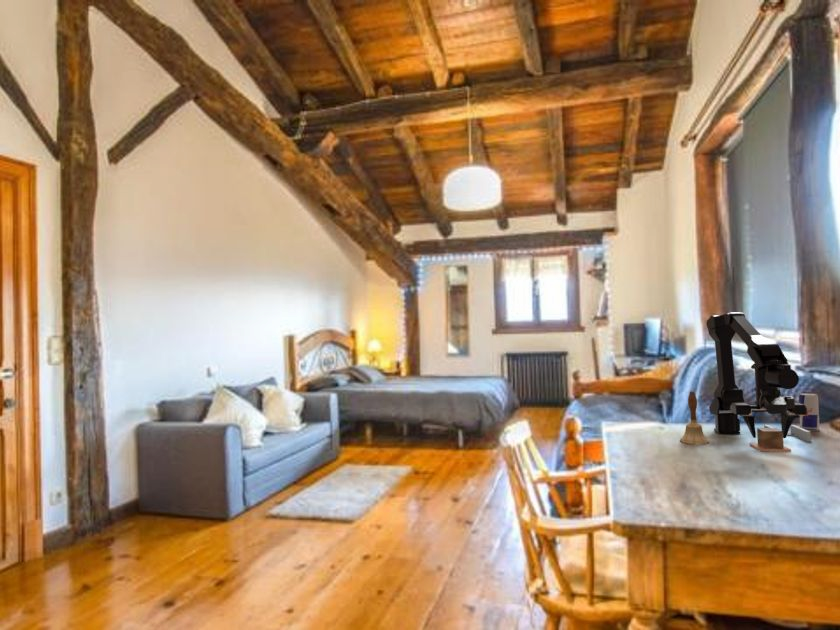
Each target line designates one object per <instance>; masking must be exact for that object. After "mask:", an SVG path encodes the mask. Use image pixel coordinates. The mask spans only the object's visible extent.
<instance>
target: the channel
mask: <svg viewBox="0 0 840 630" xmlns="http://www.w3.org/2000/svg"><path fill="white" fill-rule="evenodd" d="M763 428H775V427H774V426H772V425H769V424H764V427H763ZM789 430H790V433H789V432H788V433H787V436H786V437H790V436H792V437H796V438H798V439H800V440H803V441H805V442H808V443H810V442H812V433H811V432H812V431H808V430H805V429H803V428H801V427H800V426H799V425H795V424H791V426H790V428H789Z"/></svg>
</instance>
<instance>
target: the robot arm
mask: <svg viewBox="0 0 840 630" xmlns="http://www.w3.org/2000/svg"><path fill="white" fill-rule="evenodd" d="M706 327H707V331H708V335H709V336H710V338H711V339H712V340H713V341H714V346H715V358H716V366H717V367H716V369H717V379H718V385H717V386H716V388H715V390H714V393H713V395H714V396H713V397H714V398H713V400H712V401H711V403H710V405H709V407H708V409H709V413H710V414H712V415H714V424H715V425H714V428H713V431H715V432H716V433H718V434H721V435H724V434H725V435H726V434H728V435H729V433H735V434H736V433H737V434H736V435H739V434H738V433H741V420H740V418H739V417H742V419H743V420H744V422H745V424H746V426H747V428H748V430H749V432H750V434H751V437H752V438H754V439H756V438H757V436H756V435H757V431H756V424H755V418H756V416H755V415H753V413H768V414H769V415H775V414H776V415H777V414H778V415H779V414H780V422H781V423H780V424H781V431H783V439H786V438H787V437H788V436H787V433H789V431H790V426H791V425H793V422H794V421H795V420H796V419H798V418H799V419H800V415H808V411H807V407H806V406H805V405H803V404H800V403H799V402H795V398H794V397H793V396H792V395H791V396H790V395H789V396H787V395H786V396H782V395H781V394H782V393H781V389H784V390H791V389H792V390H793V389H794V388H795V387H797V385H799V381H800V378H799V376H798V373H797V372H796V371H795V370H793V369H792V365H791V364H789V362H788V359H787V357H786V356H785V354H784V352H783V350H782V349H781V347H780V345H779V344H778V343H776V342H775V340H773V339H771V338H768V337H766V336H763V335H762V334H761V333H760V332H759V331H758V330H757V329H756V327H754V325H753V324H752V323H751V322H750V321H749V320H748V319H747V318H746V315H745V314H744V312H741V311H739V312H738V311H737V312H734V311H732V312H731V311H730V312H727V313H724V314H719V315H715V314H714V315H710V316H709V318H708V319H707V320H706ZM735 334H736V335H738V337H739V338H740V339H741V340H742V341H743V343H744V344H745V345H746V347H747V350H746V353H747V355H748V356H749V358H750V359H751V361H753V362H754V363H753V364H752V365H751V366H750V368H751V369H752V370H754V383H755V385H754V386H755V387H753V390H754V392H755V401H754V404H755V405H750V404H748V403H746V402H745V399H744V391H743V389H742V388H739V386H738V385H737V384H736V379H735V378H736V375H735V365H734V356H733V346H732V345H733V344H732V341H733V339H734V337H735ZM780 388H781V389H780ZM735 434H734V435H735Z"/></svg>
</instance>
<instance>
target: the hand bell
mask: <svg viewBox="0 0 840 630" xmlns="http://www.w3.org/2000/svg"><path fill="white" fill-rule="evenodd" d="M687 402H688V408H689V411H690V422H689V423H687V424H686V425H685V431H684V433H683V436H682V437H681V438H680V439H679V442H680V441H681V443H683V444H686V443H688V444H687V445H695V444H703V445H706V444H705V443H708V442H709V443H710V440H709V439H707V437H706V436H705V434H704V432H703V431H704V430H703V427H702V424H700V423H699V422H697V420H698V419H697V408H698V398H697V396H696V393H695V391H693V390H691V391H689V394H688V397H687ZM709 443H708V444H709Z"/></svg>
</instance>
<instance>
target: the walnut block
mask: <svg viewBox="0 0 840 630" xmlns="http://www.w3.org/2000/svg"><path fill="white" fill-rule="evenodd" d="M756 435H757V436H756V438H757V443H758V445H759V446H761V447H763V448H764V449H784V446H785V445H784V438H783V431H782V429H778V428H777V427H774V428H764V427H757V428H756Z"/></svg>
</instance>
